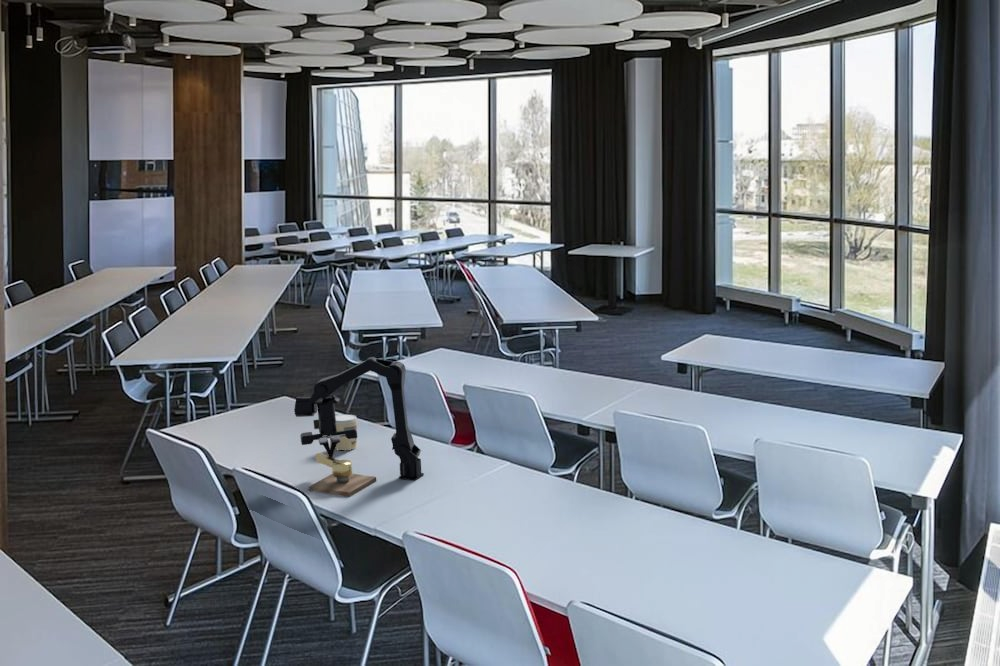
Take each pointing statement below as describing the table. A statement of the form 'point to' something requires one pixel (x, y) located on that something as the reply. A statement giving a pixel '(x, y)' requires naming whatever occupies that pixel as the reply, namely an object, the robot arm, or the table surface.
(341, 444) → the coffee cup
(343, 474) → the beige elongated piece
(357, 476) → the base
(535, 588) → the table surface
